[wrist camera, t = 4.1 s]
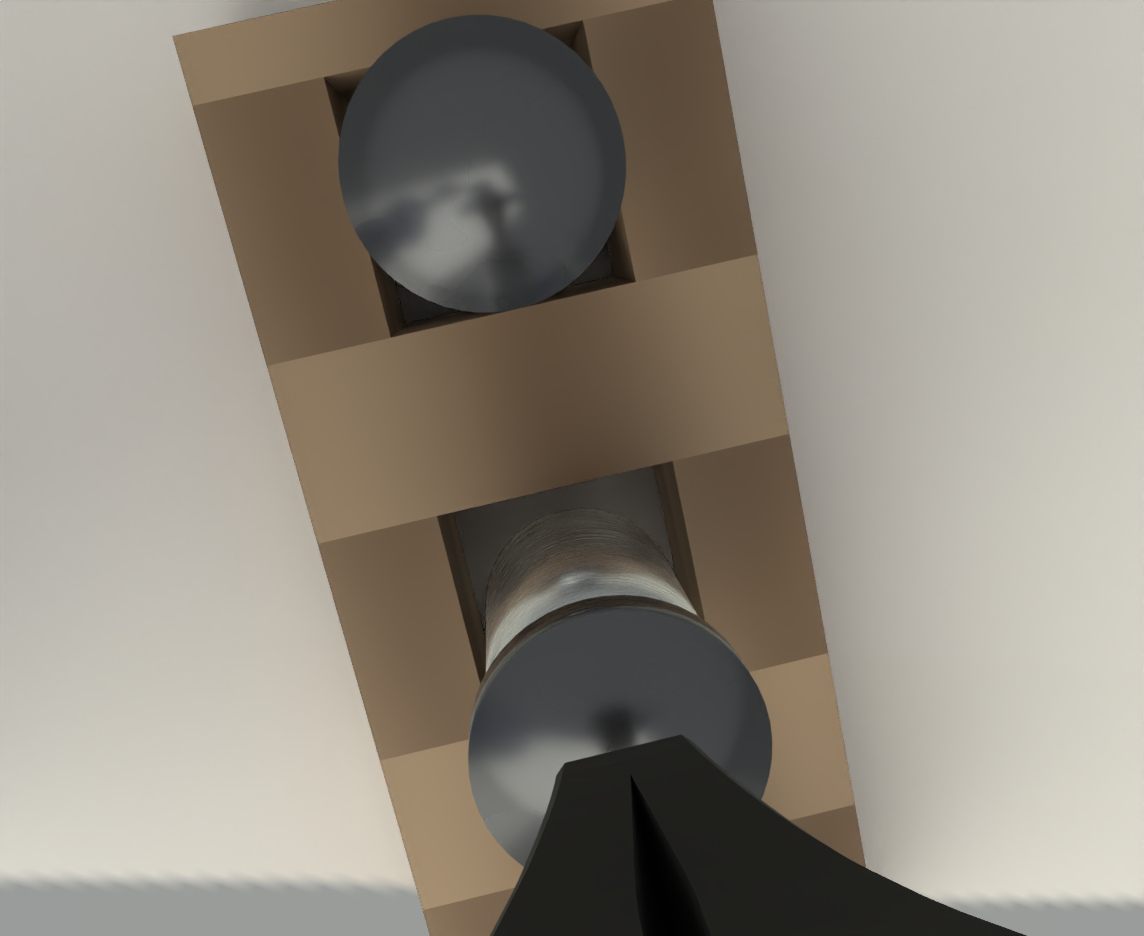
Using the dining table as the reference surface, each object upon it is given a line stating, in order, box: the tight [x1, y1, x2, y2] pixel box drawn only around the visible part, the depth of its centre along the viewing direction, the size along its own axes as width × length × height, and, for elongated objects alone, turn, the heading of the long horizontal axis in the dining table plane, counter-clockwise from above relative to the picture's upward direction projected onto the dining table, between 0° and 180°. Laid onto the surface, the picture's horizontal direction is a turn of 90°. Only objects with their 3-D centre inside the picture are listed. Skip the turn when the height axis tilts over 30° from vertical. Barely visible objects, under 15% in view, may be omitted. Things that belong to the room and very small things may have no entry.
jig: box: [173, 0, 866, 936], centre depth 19 cm, size 8×20×3 cm, turn 13°
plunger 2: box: [468, 509, 772, 867], centre depth 15 cm, size 4×4×6 cm
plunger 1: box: [338, 15, 626, 313], centre depth 16 cm, size 4×4×6 cm
